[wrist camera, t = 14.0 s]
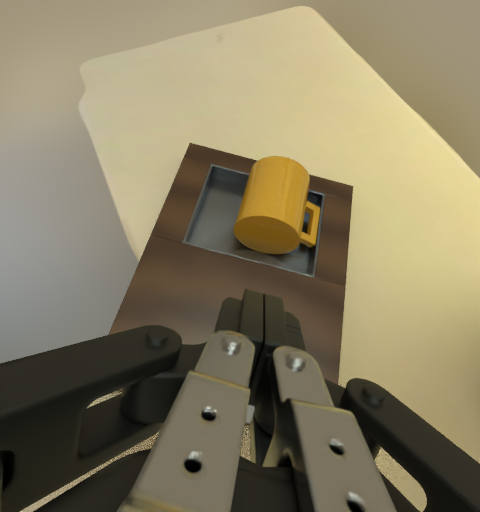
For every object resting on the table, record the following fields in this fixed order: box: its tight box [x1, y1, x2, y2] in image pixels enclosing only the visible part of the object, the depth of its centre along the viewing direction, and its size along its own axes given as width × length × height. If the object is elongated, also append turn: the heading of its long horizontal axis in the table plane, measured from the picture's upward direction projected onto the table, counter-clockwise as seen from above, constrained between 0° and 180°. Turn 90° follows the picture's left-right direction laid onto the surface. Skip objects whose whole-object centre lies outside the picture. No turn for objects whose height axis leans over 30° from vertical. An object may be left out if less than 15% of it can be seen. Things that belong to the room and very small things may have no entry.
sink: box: [182, 164, 325, 278], centre depth 39 cm, size 12×15×2 cm
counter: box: [109, 143, 353, 425], centre depth 36 cm, size 30×22×2 cm
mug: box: [233, 156, 320, 254], centre depth 38 cm, size 10×7×8 cm
